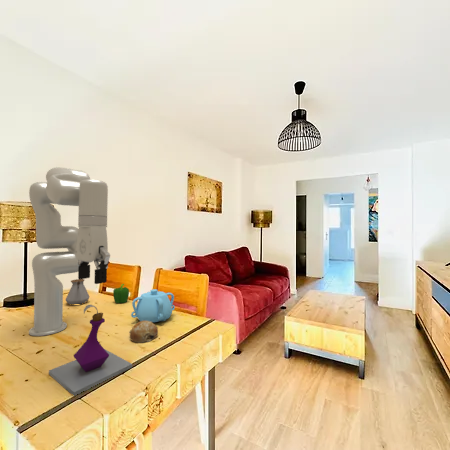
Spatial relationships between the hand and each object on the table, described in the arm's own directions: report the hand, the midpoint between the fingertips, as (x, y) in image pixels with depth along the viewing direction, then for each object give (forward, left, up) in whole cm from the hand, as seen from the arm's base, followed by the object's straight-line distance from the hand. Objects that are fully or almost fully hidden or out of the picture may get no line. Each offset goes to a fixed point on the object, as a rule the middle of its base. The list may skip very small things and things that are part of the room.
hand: (92, 280), depth 73 cm
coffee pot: (-69, +26, -26) cm, 78 cm away
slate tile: (0, 0, -26) cm, 26 cm away
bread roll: (-7, +23, -26) cm, 35 cm away
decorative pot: (-19, +37, -26) cm, 49 cm away
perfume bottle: (0, 0, -25) cm, 25 cm away
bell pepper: (-55, +43, -26) cm, 75 cm away
